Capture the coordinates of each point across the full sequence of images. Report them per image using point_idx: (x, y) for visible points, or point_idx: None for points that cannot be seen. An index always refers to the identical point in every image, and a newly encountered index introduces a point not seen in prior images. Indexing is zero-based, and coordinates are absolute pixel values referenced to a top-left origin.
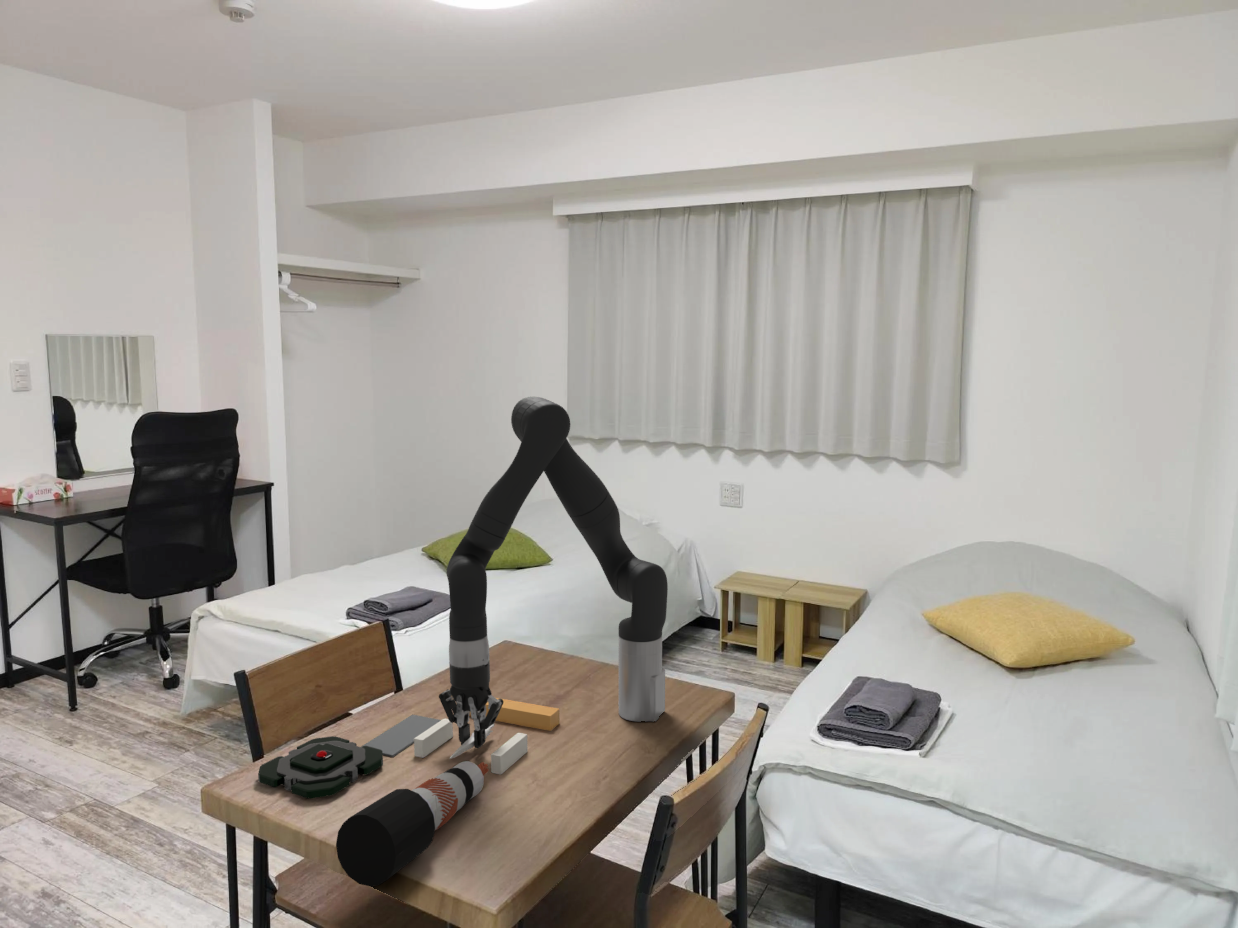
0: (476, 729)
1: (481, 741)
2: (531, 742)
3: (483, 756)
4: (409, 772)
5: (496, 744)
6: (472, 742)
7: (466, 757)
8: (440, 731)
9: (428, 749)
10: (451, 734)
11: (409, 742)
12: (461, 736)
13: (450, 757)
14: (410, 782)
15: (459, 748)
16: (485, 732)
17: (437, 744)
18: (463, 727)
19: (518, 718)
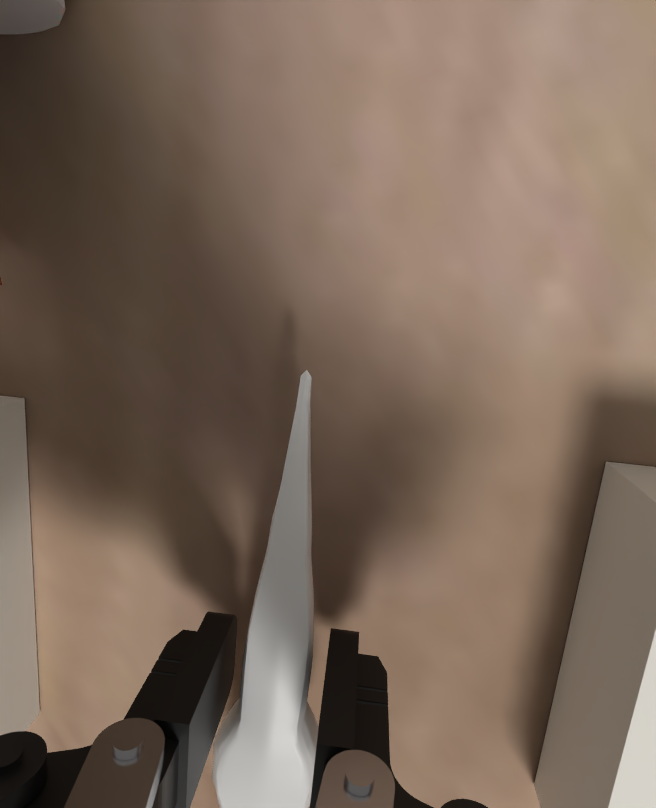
0: (147, 728)
1: (161, 653)
2: None
3: (195, 585)
4: (607, 212)
5: None
6: (246, 641)
7: None
8: (603, 749)
9: (605, 542)
10: (543, 790)
11: None
12: (347, 677)
13: (305, 382)
14: (518, 54)
15: (295, 525)
16: (218, 793)
17: (577, 640)
18: (325, 758)
19: None
